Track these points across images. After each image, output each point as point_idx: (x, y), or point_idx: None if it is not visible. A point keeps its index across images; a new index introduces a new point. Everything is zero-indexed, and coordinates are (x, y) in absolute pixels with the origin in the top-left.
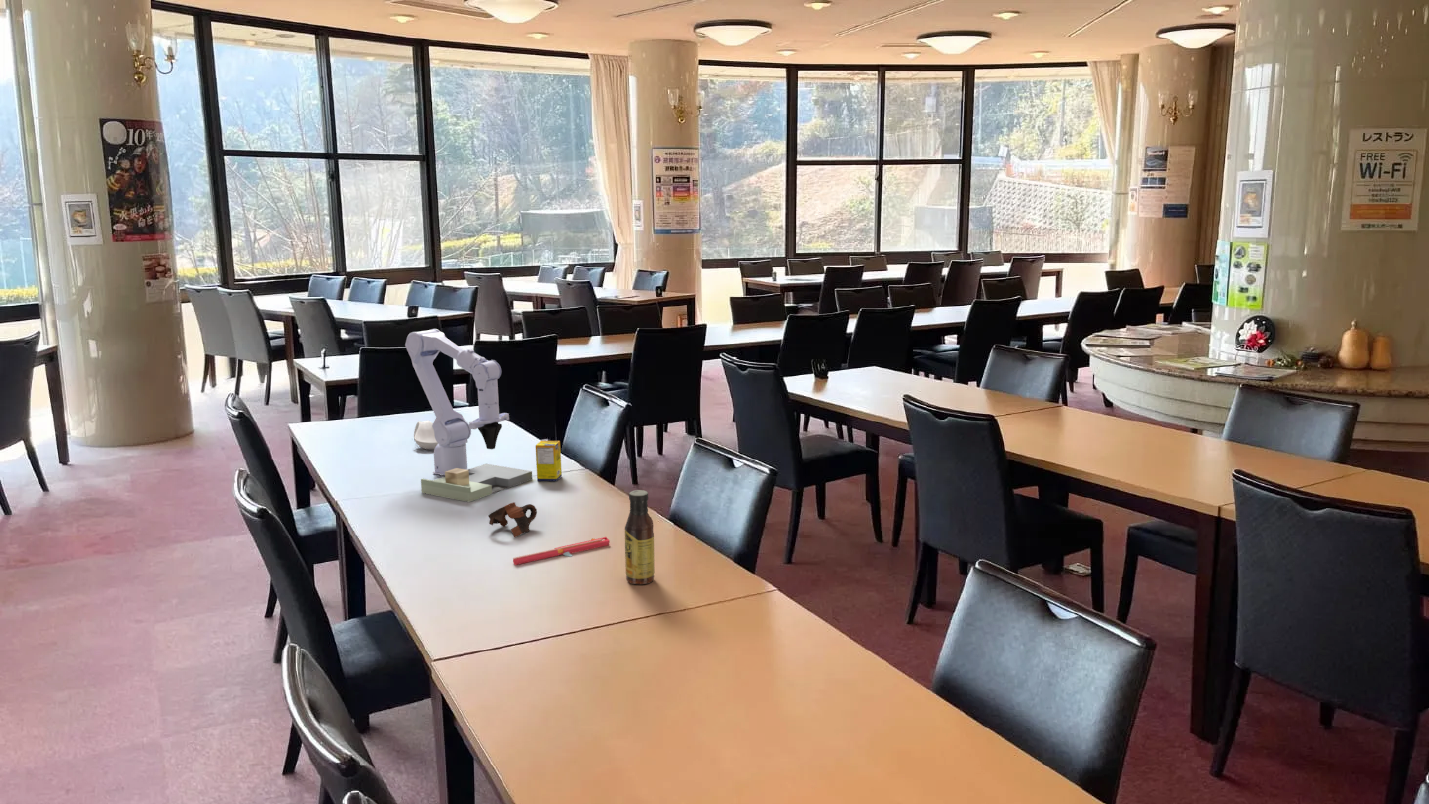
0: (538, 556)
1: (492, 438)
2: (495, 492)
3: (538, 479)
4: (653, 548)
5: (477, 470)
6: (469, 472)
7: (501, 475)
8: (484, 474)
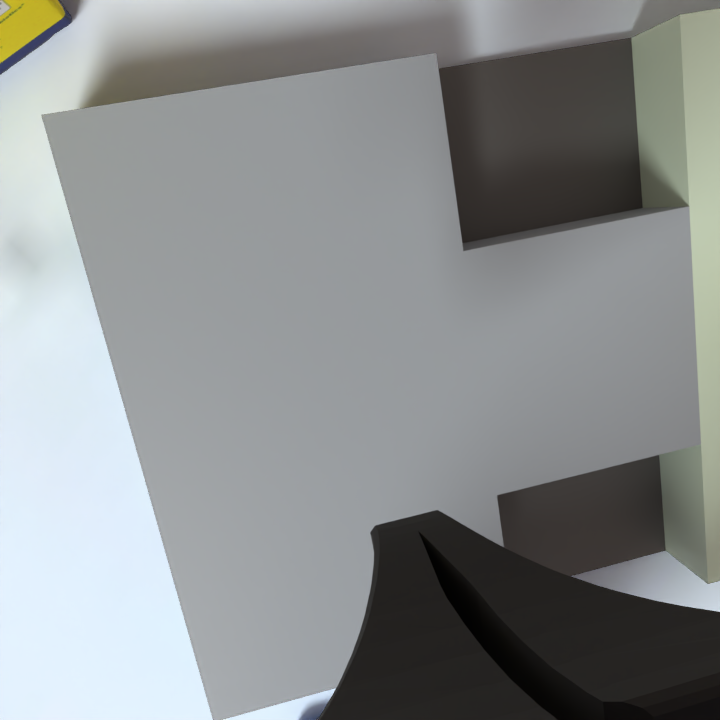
0: None
1: (522, 577)
2: (586, 46)
3: (60, 1)
4: None
5: None
6: None
7: (389, 243)
8: (469, 404)
